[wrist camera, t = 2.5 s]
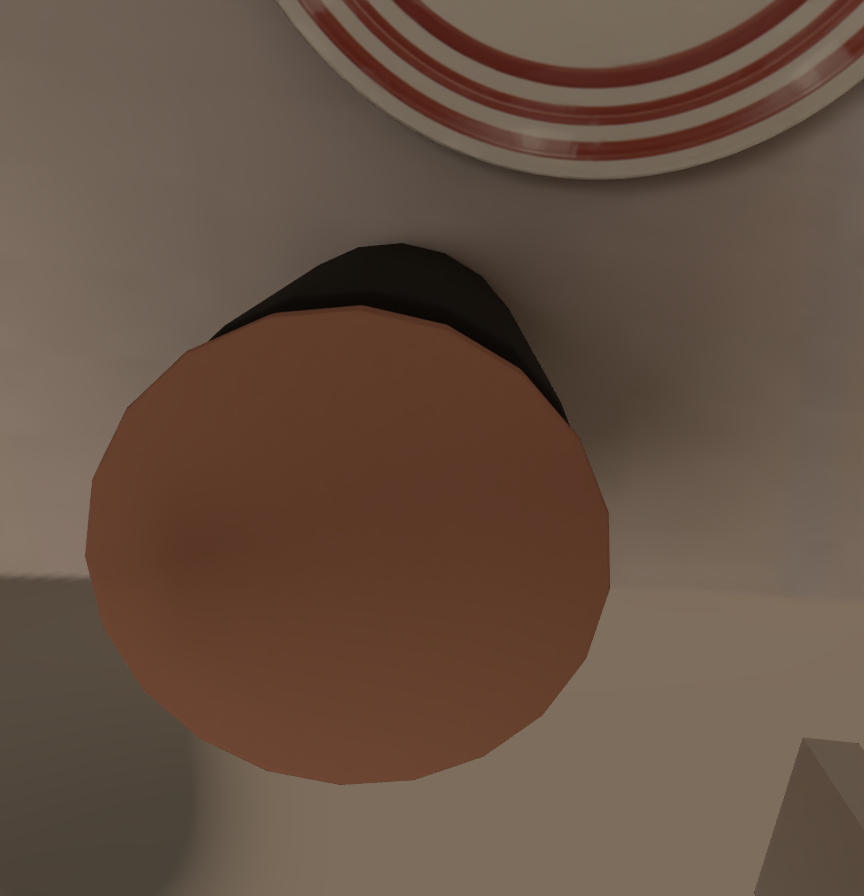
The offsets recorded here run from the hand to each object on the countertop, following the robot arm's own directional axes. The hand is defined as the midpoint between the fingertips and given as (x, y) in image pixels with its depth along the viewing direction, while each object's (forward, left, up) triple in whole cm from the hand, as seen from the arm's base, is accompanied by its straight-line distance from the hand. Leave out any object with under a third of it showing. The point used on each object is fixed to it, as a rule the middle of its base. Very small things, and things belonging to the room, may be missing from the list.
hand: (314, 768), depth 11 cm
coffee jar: (0, 0, -24) cm, 24 cm away
